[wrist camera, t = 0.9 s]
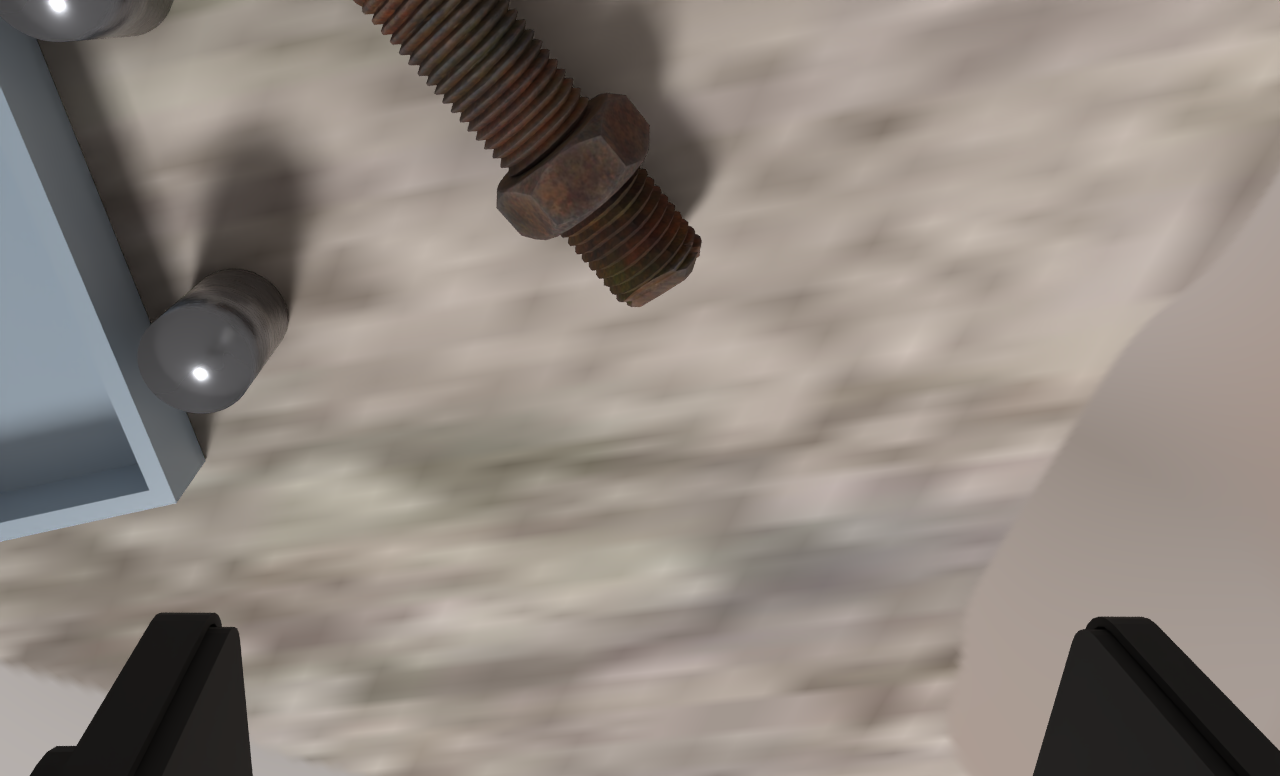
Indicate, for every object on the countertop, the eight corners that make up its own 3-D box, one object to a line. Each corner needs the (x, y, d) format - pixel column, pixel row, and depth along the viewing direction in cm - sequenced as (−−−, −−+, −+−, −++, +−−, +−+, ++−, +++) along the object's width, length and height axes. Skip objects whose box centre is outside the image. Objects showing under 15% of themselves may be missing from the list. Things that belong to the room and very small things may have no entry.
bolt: (632, 260, 34) (306, -121, 28) (749, 193, 31) (411, -248, 25) (580, 366, 30) (185, -57, 24) (709, 300, 27) (294, -200, 21)
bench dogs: (150, -90, 27) (82, -108, 22) (300, 348, 32) (267, 400, 27) (40, -69, 26) (-49, -83, 22) (208, 368, 31) (161, 423, 27)
